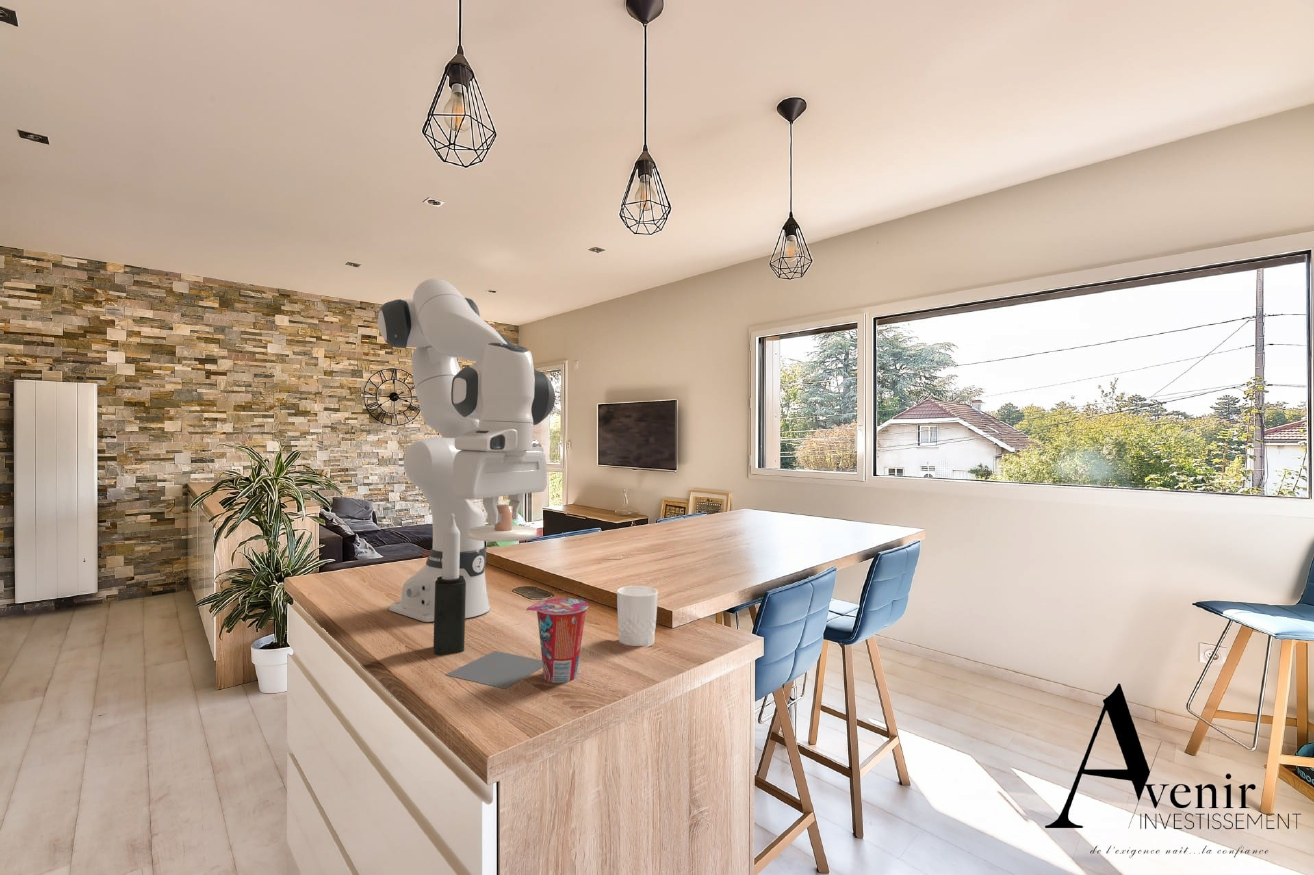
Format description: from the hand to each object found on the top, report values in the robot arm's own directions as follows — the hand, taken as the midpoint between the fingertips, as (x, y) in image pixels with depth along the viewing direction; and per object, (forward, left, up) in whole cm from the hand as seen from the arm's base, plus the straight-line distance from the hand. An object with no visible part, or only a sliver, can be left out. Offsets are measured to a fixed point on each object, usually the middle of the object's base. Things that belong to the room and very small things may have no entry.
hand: (502, 522), depth 95 cm
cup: (+11, +1, -25) cm, 27 cm away
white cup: (+14, +23, -25) cm, 37 cm away
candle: (-14, +3, -25) cm, 29 cm away
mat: (0, 0, -25) cm, 25 cm away
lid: (0, 0, -2) cm, 2 cm away
